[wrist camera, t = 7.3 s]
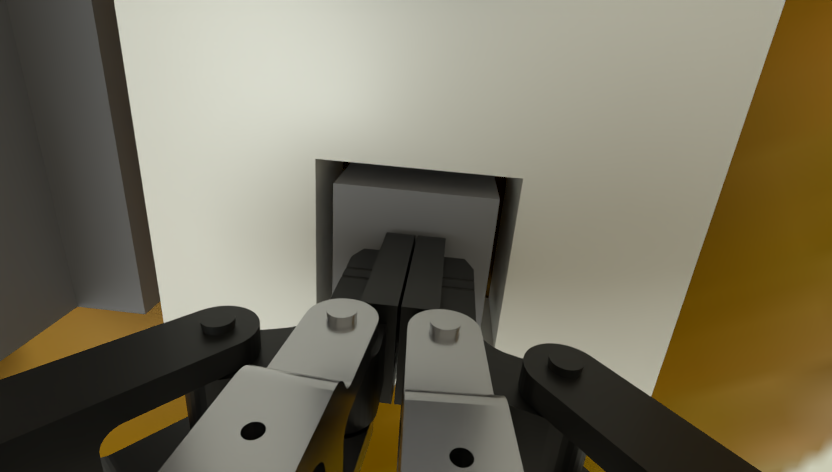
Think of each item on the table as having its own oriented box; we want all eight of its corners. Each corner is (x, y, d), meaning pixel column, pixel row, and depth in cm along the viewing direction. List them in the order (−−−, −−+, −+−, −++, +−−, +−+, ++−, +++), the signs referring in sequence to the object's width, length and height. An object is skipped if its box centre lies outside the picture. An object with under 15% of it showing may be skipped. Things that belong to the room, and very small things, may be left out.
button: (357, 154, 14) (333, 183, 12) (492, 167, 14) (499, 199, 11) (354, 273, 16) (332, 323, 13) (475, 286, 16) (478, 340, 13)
